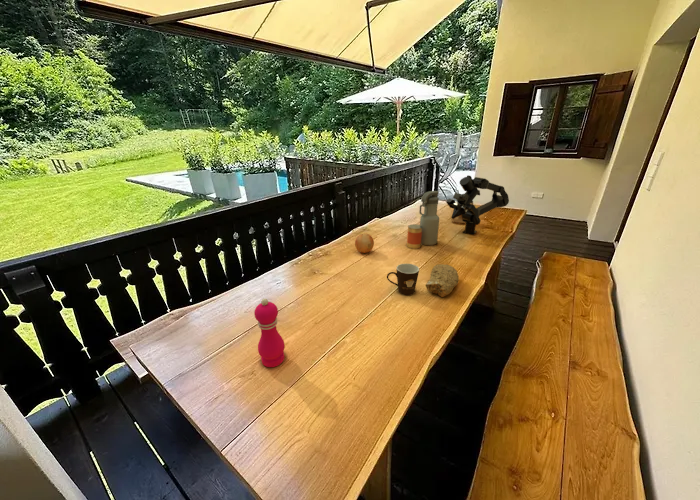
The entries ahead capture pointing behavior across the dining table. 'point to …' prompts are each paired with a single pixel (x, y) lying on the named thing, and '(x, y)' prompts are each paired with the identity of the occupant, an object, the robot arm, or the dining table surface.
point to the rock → (442, 279)
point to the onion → (364, 243)
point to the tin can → (414, 236)
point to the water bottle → (429, 218)
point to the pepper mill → (269, 334)
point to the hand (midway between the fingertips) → (452, 218)
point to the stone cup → (459, 218)
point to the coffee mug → (406, 278)
